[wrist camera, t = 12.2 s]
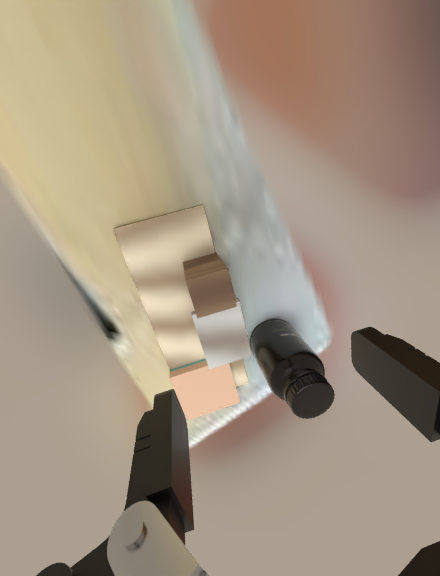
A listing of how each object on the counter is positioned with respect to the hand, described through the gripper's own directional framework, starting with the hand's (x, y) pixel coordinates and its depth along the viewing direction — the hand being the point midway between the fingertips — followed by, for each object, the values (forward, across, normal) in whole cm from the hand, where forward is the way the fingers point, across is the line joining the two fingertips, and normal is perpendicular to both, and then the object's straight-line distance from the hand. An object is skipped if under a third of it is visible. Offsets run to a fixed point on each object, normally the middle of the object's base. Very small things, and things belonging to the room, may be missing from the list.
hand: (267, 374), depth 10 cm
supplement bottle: (+21, -6, +14) cm, 26 cm away
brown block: (+20, +1, +5) cm, 20 cm away
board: (+21, +4, +7) cm, 22 cm away
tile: (+19, +5, +13) cm, 23 cm away
